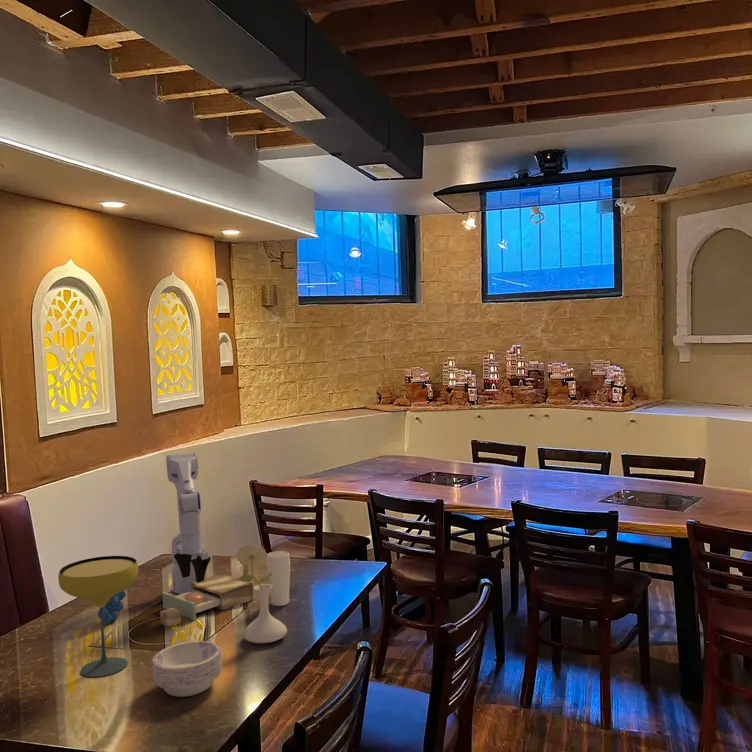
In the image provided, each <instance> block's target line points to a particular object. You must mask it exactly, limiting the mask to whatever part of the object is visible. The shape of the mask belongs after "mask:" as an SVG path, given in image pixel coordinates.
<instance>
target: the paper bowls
mask: <svg viewBox="0 0 752 752" xmlns="http://www.w3.org/2000/svg"><path fill="white" fill-rule="evenodd" d="M222 655H223V654H222V650H221V647H220V645H218V643H215V642H212V641H206V640H194V641H193V640H192V641H185V642H181V643H175V644H173V645H170V646H168V647H165V648H163V649H162V650H160V651H158V652H156V653H155V655H154V656H153V657H152V660H151V666H152V667H151V669H152V671H151V672H152V679H153V683H154V685H156V686H157V687H159V688H161V689H163V691H165V693H167V694H168V695H170V696H173V697H180V698H183V697H190V696H197V695H199V694H201V693H202V692H205V691H206V690H208V689H209V688H210V687H211V686H212V684H213V682H214V680H215V679H216V678H218V676H219V675H221V673H222V671H223V659H222Z"/></svg>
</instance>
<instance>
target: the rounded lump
mask: <svg viewBox="0 0 752 752" xmlns="http://www.w3.org/2000/svg"><path fill="white" fill-rule="evenodd" d="M184 599H185V600H188V601H191V602H193V603H195V605H197V604H200V603H202V602H203V594H201V593H192V594H188V595H186V596H185V597H184Z"/></svg>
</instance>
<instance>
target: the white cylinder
mask: <svg viewBox="0 0 752 752" xmlns="http://www.w3.org/2000/svg"><path fill="white" fill-rule="evenodd" d="M267 556H268V557H267V558H266V569H267V574H270V573H271V572H272V574H271V576H270V577H269V578H268V584H271V585H272V586H273V587H272V589H271V590H270V601H271V605H272V606H274V607H284V606H286V605H288V604H289V603H290V581H291V558H290V552H288V551H285V550H280V551H279V550H276V551H272V552H269V553H267Z"/></svg>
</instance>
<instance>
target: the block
mask: <svg viewBox="0 0 752 752" xmlns="http://www.w3.org/2000/svg"><path fill="white" fill-rule="evenodd" d="M159 615H160V616H159V617H160V624H161V625H162V624H163V625H162V626H165V625H166V626H165V627H167V626H168V627H167V628H170V627H172V626H171V625H173V626H175V624H176V625H178V623H179V624H181V623H182V619H181V618H182V615H181V614H180V610H178V609H175V608H170V609H164V610H161V611H160V612H159ZM180 622H181V623H180ZM169 626H170V627H169Z"/></svg>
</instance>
